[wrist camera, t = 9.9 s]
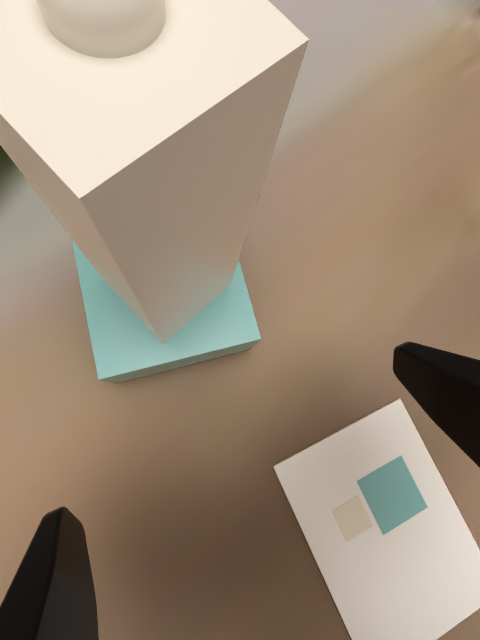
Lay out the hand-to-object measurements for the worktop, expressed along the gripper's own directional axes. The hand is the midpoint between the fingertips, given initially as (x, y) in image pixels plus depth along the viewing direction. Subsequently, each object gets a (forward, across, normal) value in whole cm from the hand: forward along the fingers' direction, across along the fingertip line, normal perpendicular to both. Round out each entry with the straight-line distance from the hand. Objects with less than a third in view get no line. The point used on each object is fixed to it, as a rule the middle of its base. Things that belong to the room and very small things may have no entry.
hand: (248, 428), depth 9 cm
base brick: (+14, 0, +3) cm, 14 cm away
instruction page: (+2, -6, +16) cm, 17 cm away
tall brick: (+11, 0, +1) cm, 11 cm away
